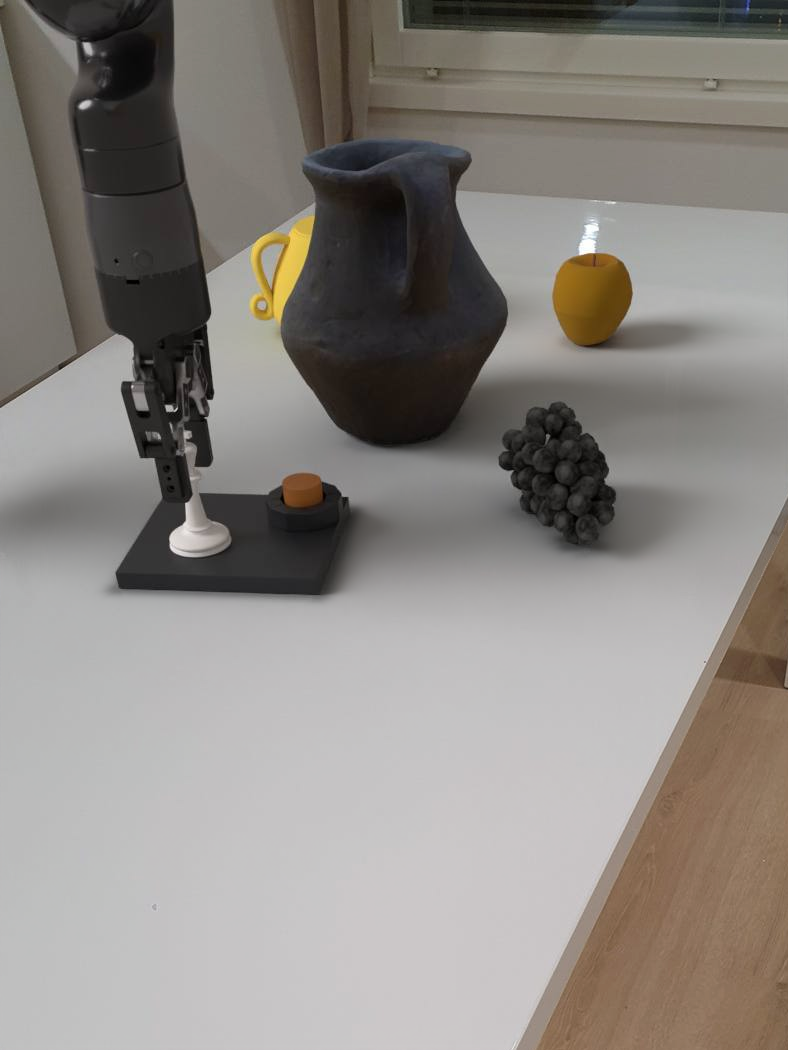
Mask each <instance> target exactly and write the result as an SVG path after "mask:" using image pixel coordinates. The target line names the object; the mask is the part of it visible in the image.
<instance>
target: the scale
mask: <svg viewBox="0 0 788 1050" xmlns="http://www.w3.org/2000/svg"><path fill="white" fill-rule="evenodd" d="M321 482H322V491H323V501H322V502H321V503H319V504H317V505H314V506H309V507H291V506H288V505H286V504H285V502H284V494H283V487H282V484H281V485H279V486H277V487H276V488H274V489H272V490H270V491H269V492H268V494H258V493H256V494H255V493H254V494H253V493H220V492H219V493H217V492H214V493H213V492H199V495H200V499H201V502H202V505H203V508H204V511H205V514H206V517H207V519H210V520H211V521H213V522H218V523H220V524H223V525H224V526H226V527H227V528H228V530H229V534H230V536H231V543H230V545H229V546H228V547H227V548H226V549H225V550H223V551H221V552H219V553H217V554H214V555H211V556H206V557H197V558H192V557H184V556H180V555H177V554H175V553H174V552H173V551H172V550H171V549H170V540H169V538H170V535H171V533H172V532H173V531H174V530H175V529H176V528H178V527H180V526H182V525H183V523H184V522H185V521H186V507H185V503H169V502H166V501H164V500H163V498H162V497H161V500H160V501H159V502H158V504H157V506H156V507H155V509H154V510H153V512H152V513H151V515H150V516H149V518H148V520H147V522H146V523H145V525H144V526H143V528H142V529H141V531H140V533H139V534H138V535H137V537H136V538H135V540H134V542H133V543H132V545H131V546H130V548H129V550H128V551H127V553H126V554H125V556H124V558H123V559H122V561H121V563H119V566H118V567H117V568H116V570H115V572H114V573H115V577H116V582H117V586H118V588H119V589H133V590H135V589H136V590H139V589H140V590H163V591H164V590H165V591H166V590H167V591H194V592H196V591H197V592H198V591H199V592H229V593H254V594H255V593H257V594H259V593H260V594H287V595H290V594H291V595H319V593H320V590H321V588H322V586H323V583H324V580H325V579H326V575H327V573H328V570H329V567H330V564H331V562H332V560H333V556H334V554H335V551H336V549H337V547H338V544H339V541H340V539H341V537H342V534H343V532H344V528H345V526H346V524H347V520H348V518H349V516H350V512H351V509H350V508H351V507H350V497H349V496H343V494H342V492H341V491H340V490H339V489H338V487H337V486H336V485H334V484H331V483H329V482H326V481H323V480H321Z"/></svg>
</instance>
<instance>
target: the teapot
mask: <svg viewBox="0 0 788 1050" xmlns="http://www.w3.org/2000/svg"><path fill="white" fill-rule="evenodd" d="M314 218H315V214H311V215H309V216H305V217H304V218H301V219H299V220H298V221H297V222H296V223H295V224H294V225H293V226H292V228H291V230H290V231H289V234H285V233H281V232H269V233H267V234H264V235H263V236H261V237H259V239H257V240H256V242H254V244H253V247H252V248H251V252H250V262H251V267H252V270H253V273H254V276H255V279H256V282H257V284H258V286H259V288H260V291H261V293H256V294H254V295H253V296H252V297H251V299H250V301H249V311H250V313H251V315H252V316H253V318H255V319H257V320H260V321H262V322H263V321H267V322H268V321H270V320H272V319H273V318H274V319H275V321H276V323H277V324H278V325H279V326H280V327H281V317H282V313H283V308H284V306H285V303H286V301H287V299H288V297H289V296H290V294H291V292H292V290H293V288H294V285H295V283H296V281H297V279H298V277H299V275H300V273H301V270H302V268H303V266H304V263H305V260H306V257H307V253H308V249H309V244H310V240H311V235H312V230H313V224H314ZM272 245H283V246H282V248H281V251H280V253H279V255H278V258H277V261H276V264H275V268H274V271H273V275H272V280H271V286H270V283H269V282H268V279H267V277H266V274H265V271H264V267H263V263H262V255H263V252H264V250H265V249H267V248H268V247H269V246H270V247H271V246H272ZM259 302H265V304H266V305H265V308H264V309H260V308H259V307H258V304H259Z"/></svg>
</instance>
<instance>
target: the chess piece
mask: <svg viewBox="0 0 788 1050" xmlns="http://www.w3.org/2000/svg"><path fill="white" fill-rule="evenodd" d="M171 430H172V428H171ZM183 431H184V446H185V451H184V453H185V454H186V460H187V465H188V471H189V476H190V482H191V487H192V492H193V495H192V497H191V499H190V501H189V502H187V503H185V507H186V521H185V522H184V523H183V525H182V526H180V527H178V528H176V529H175V530H174V531H173V532H172V533H171V535H170V538H169V540H170V549H171V550H172V551H173V552H174V553H175V554H177V555H180V556H184V557H192V558H197V557H206V556H211V555H214V554H217V553H219V552H221V551H223V550H225V549H226V548H227V547H228V546H229V545H230V543H231V536H230V534H229V530H228V528H227V527H226V526H224V525H223V524H220V523H218V522H213V521H211V520H210V519H207V517H206V514H205V511H204V508H203V505H202V502H201V499H200V495H199V493H200V491H199V489H198V486H197V484H198V483H199V482H201V481H202V480H203V479H204V476H203V475H202V472H201V471H199V470H196V469H195V467H194V466H195V457H196V453H197V447H196V445H195V444H193V443H191V442H186V439H190V438H191V437H192V433H191V431H187V430H184V426H183Z"/></svg>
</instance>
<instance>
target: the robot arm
mask: <svg viewBox="0 0 788 1050" xmlns="http://www.w3.org/2000/svg"><path fill="white" fill-rule="evenodd" d="M23 2H24V3H25V4H26V5H27V6H28V8H29V9H30V10H31V11H32V12H33V13H34V15H35V16H36V17H38V18H39V19H40V21H42V22H43V23H44V24H45V25H47V26H48V27H49V28H50V29H52V30H53V31H54V32H56V33H57V34H59V35H60V36H61V37H64V38H66V39H69V40H72V41H74V42H75V48H76V57H77V58H76V59H77V76H76V79H75V81H74V83H73V85H72V87H71V88H70V90H69V92H68V96H67V99H66V105H65V107H66V108H65V109H66V120H67V121H66V122H67V127H68V133H69V138H70V142H71V148H72V153H73V157H74V162H75V167H76V172H77V176H78V181H79V186H80V192H81V197H82V199H81V200H82V210H83V222H84V228H85V233H86V238H87V242H88V247H89V252H90V257H91V262H92V266H93V271H94V276H95V280H96V281H95V282H96V285H97V290H98V294H99V299H100V304H101V309H102V313H103V319H104V322H105V325H106V327H107V328H108V329H109V330H110V331H111V332H113V333H115V334H116V335H119V336H123V337H124V338H126V339H127V340H129V341H130V342H131V343H132V345H133V348H132V351H133V356H132V360H131V363H132V364H131V365H132V376H133V379H134V380H123V381H121V385H120V392H121V397H122V400H123V404H124V407H125V411H126V414H127V418H128V421H129V425H130V429H131V432H132V435H133V439H134V442H135V445H136V449H137V453H138V456H139V458H140V459H154V464H155V469H156V474H157V478H158V479H157V480H158V483H159V489H160V494H161V499H162V498H163V500H164V501H166V502H169V503H187V502H189V501H190V499H191V497H192V495H193V492H192V487H191V482H190V476H189V471H188V465H187V460H186V454H185V453H184V451H185V446H184V431H183V426H184V430H187V431H191V433H192V437H191V438H190V439H186V442H191V443H193V444H195V445H196V447H197V453H196V457H195V466H194V468H209V467H211V465H212V464H213V461H214V453H213V447H212V442H211V435H210V430H209V429H210V428H209V424H208V423H209V422H208V417H209V416H210V411H211V408H210V404H209V402H208V401H213V400H214V397H215V388H214V379H213V372H212V363H211V361H212V360H211V352H210V343H209V336H208V335H209V334H208V322H209V320H210V319H211V316H212V306H211V305H212V304H211V298H210V293H209V286H208V280H207V273H206V266H205V261H204V260H205V259H204V253H203V249H202V241H201V237H200V236H201V235H200V229H199V222H198V217H197V216H198V215H197V211H196V208H195V204H194V201H193V197H192V194H191V190H190V187H189V182H188V178H187V171H186V164H185V158H184V152H183V151H184V150H183V146H182V140H181V139H182V138H181V133H180V128H179V122H178V118H177V112H176V108H175V96H174V95H175V93H174V92H175V91H174V88H175V87H174V86H175V71H176V69H175V68H176V59H175V54H176V53H175V52H176V51H175V7H174V6H175V5H174V4H175V3H174V0H23ZM166 406H171V407H172V409H173V411H167V408H166ZM171 429H172V430H171ZM159 437H160V438H159Z"/></svg>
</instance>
